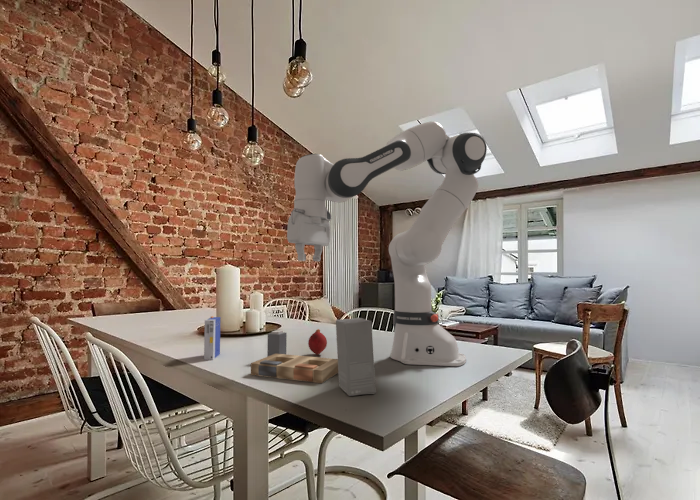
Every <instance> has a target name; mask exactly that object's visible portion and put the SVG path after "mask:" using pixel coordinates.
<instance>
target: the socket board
mask: <svg viewBox="0 0 700 500" xmlns="http://www.w3.org/2000/svg"><path fill="white" fill-rule="evenodd" d="M336 374H338V358H329V357H328V358H327V357H319V356H306V355H297V354H287V353H286V354H273V355H271V356H268V357H267V356H265V357H263V358H260V359H258V360H256V361H253V362H251V363H250V376H255V375H256V376H255V377H263V376H264V377H265V378H273V379H280V380H281V379H283V380H291V381H299V382H310V383H315V384H324V383H325V382H326V381H328V380H329V379H331V378H332V377H334V376H335V375H336Z"/></svg>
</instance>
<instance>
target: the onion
mask: <svg viewBox="0 0 700 500" xmlns="http://www.w3.org/2000/svg"><path fill="white" fill-rule="evenodd" d="M307 342H308V343H307V344H308V348H309V350H310V351H311V352H312V353H313V354H315V355H319V356H320V354H321V353H322V352H324V351H325V349H326V348H327V345H328V341H327V337H326V336H325V335H324V333H322V332H321V330H320V329H319V328H317V329H316V330H315V332H313V333H312V334H311V335H310V336H309V338H308V341H307Z"/></svg>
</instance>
